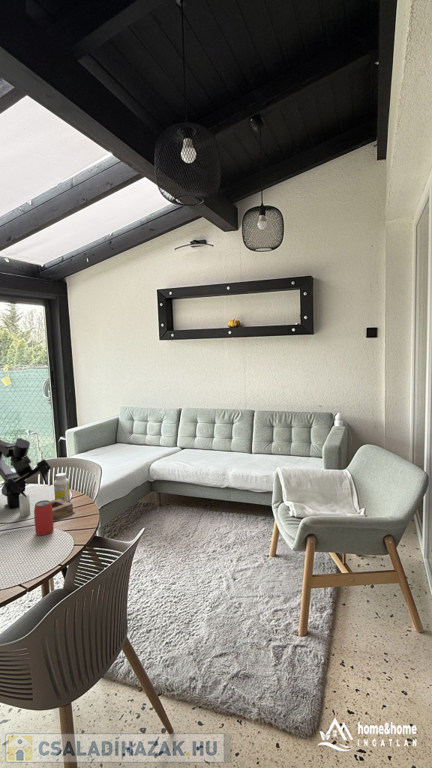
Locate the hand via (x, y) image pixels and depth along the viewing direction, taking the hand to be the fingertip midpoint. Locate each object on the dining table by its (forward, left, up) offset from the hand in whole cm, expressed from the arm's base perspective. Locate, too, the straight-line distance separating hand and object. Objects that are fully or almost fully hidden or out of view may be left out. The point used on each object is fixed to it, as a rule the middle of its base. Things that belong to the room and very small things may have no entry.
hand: (36, 489), depth 175 cm
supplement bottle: (-11, +18, -13) cm, 25 cm away
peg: (-9, -1, -13) cm, 16 cm away
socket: (+1, +7, -13) cm, 15 cm away
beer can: (+14, -5, -13) cm, 20 cm away
